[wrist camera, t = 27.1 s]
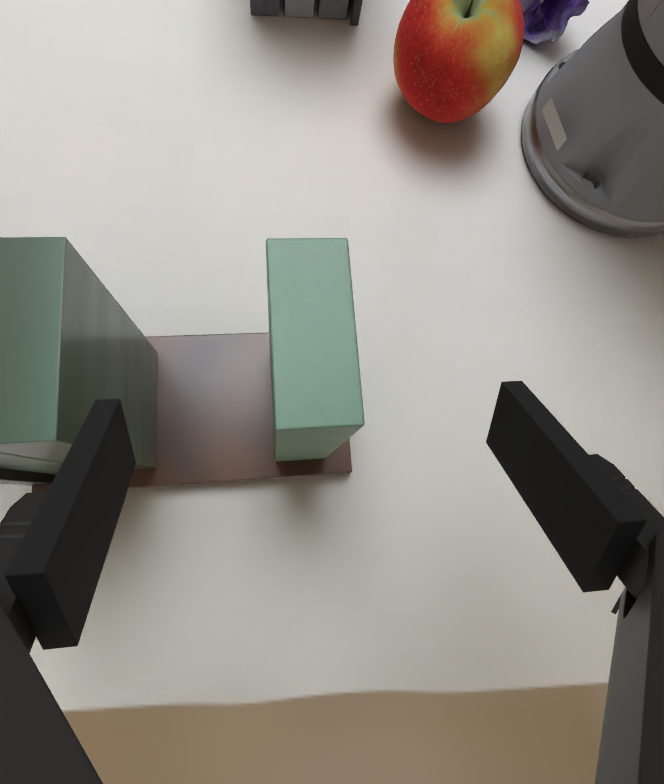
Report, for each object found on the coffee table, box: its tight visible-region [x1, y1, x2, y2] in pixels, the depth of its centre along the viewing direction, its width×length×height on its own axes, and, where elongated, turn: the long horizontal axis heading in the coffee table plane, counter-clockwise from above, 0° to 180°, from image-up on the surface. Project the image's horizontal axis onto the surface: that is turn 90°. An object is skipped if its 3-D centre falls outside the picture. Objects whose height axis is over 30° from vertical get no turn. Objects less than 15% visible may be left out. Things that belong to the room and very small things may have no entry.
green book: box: [266, 238, 364, 462], centre depth 23 cm, size 3×7×13 cm, turn 4°
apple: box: [393, 0, 524, 123], centre depth 32 cm, size 8×8×10 cm
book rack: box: [0, 237, 352, 493], centre depth 22 cm, size 18×9×16 cm, turn 94°
